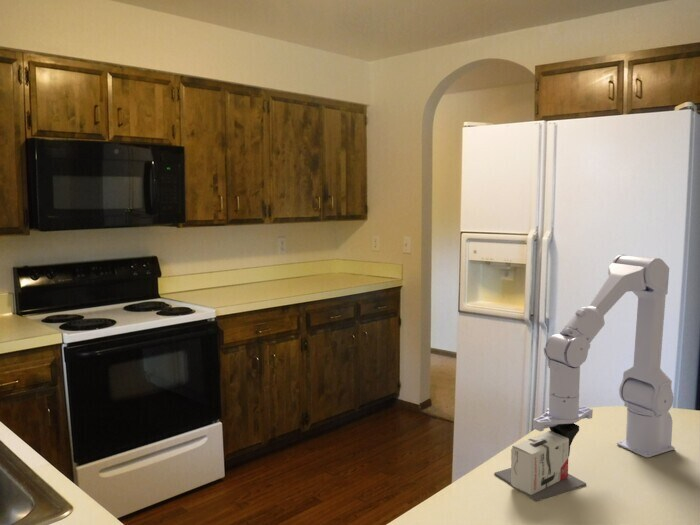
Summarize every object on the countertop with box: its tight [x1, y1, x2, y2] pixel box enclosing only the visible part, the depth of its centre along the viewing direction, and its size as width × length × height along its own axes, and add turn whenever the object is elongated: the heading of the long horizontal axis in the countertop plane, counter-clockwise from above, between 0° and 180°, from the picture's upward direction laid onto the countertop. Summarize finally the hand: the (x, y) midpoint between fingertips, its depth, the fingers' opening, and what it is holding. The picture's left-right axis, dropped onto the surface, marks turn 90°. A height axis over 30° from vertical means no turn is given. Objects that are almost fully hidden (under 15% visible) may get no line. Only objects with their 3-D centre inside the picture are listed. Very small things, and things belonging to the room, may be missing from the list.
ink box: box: [510, 430, 569, 495], centre depth 117 cm, size 8×5×12 cm
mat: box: [494, 467, 587, 502], centre depth 119 cm, size 13×12×1 cm
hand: (562, 456), depth 121 cm, fingers closed
